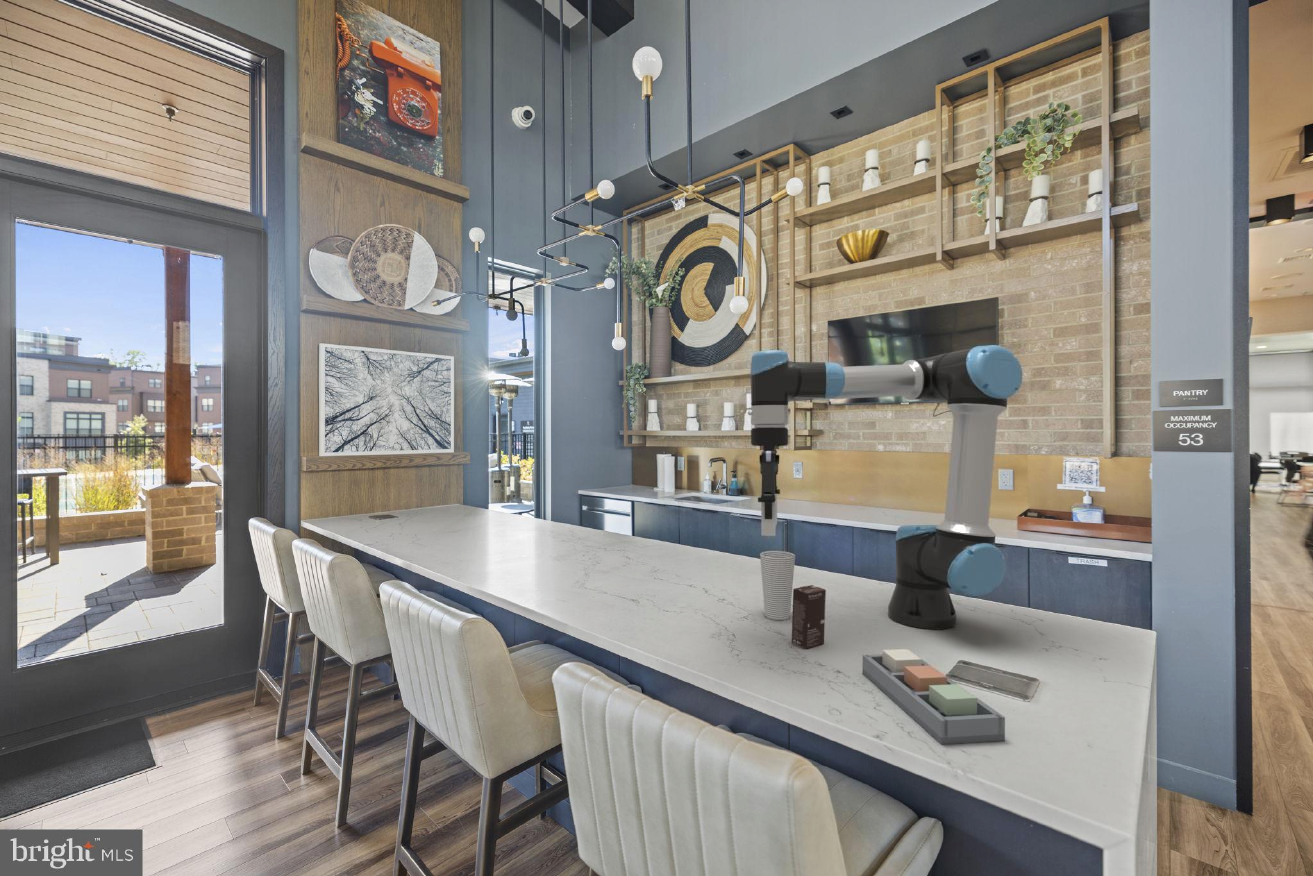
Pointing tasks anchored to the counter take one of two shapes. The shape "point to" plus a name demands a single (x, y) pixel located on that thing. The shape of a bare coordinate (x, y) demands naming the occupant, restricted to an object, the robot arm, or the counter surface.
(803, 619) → the box
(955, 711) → the key sage
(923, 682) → the key terracotta
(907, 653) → the key ivory
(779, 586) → the cup
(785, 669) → the counter surface
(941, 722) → the gray divided tray
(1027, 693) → the counter surface
